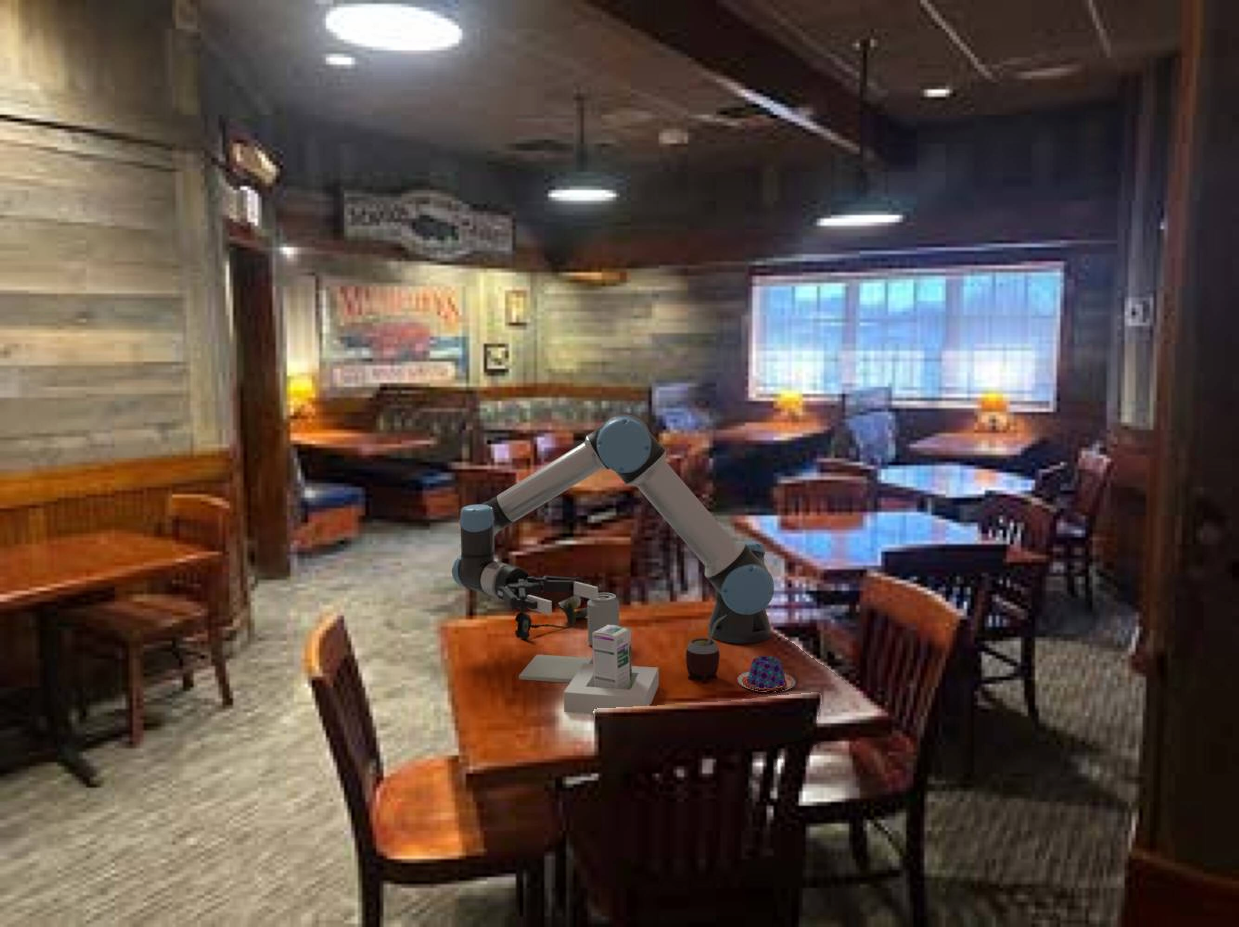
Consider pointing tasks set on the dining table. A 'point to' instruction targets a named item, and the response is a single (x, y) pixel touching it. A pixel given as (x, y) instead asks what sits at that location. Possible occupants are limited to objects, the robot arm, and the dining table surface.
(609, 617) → the can
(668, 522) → the robot arm
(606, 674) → the syrup box
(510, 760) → the dining table surface
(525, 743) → the dining table surface
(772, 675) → the pudding
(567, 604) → the artificial flower
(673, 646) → the dining table surface
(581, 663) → the sage tile
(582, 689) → the bore block
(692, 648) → the mate gourd
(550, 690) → the dining table surface
